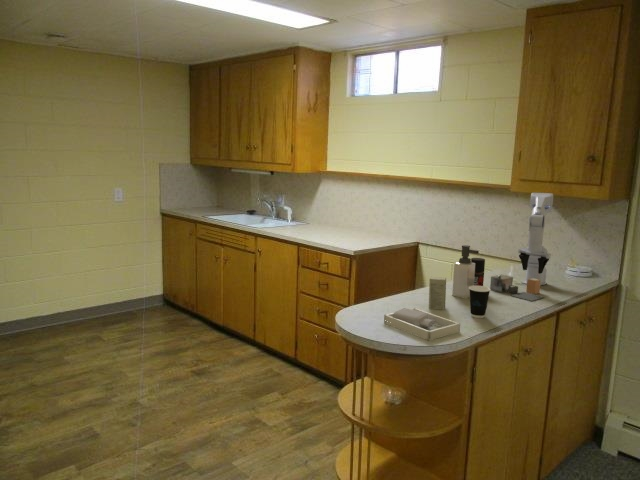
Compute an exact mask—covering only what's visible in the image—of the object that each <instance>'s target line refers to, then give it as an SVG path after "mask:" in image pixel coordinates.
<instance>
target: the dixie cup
mask: <svg viewBox="0 0 640 480" xmlns="http://www.w3.org/2000/svg"><path fill="white" fill-rule="evenodd" d="M469 289H470V297H469V306H470V307H469V308H470V309H469V310H470V316H471V317H472V318H475V319H484V318H485V315H486V312H487V306H488V304H489V303H488V302H489V298H490V292H491V291H492V290H491V289H490V287H488V286H484V285H483V286H470V287H469Z"/></svg>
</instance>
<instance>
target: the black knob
mask: <svg viewBox="0 0 640 480" xmlns="http://www.w3.org/2000/svg"><path fill="white" fill-rule="evenodd" d="M507 292H508V294H511V295H514V294H518V293H519V286H518V285H513V284H512V285H509V289H508V291H507Z"/></svg>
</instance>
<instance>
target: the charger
mask: <svg viewBox="0 0 640 480" xmlns="http://www.w3.org/2000/svg"><path fill="white" fill-rule="evenodd" d="M411 309H412V308H407V307H404V308H400V309H398V310H396V311H395V312H393V313H394V314H393V317H394V318H396V319H399V320H402V321H404V322H407V323H410V324H412V325H415V326H418V327H420V328H424V327H426V328H429V329H430V328H432V327H433V326H434V327H436V326H437V325H438V324H437V323H435V321H434V320H431V319H428V314H427V313H425V312H426V311H425V312H420V311H416V310H411ZM438 326H439V325H438Z"/></svg>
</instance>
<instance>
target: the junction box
mask: <svg viewBox="0 0 640 480" xmlns="http://www.w3.org/2000/svg"><path fill="white" fill-rule="evenodd" d="M513 280H514V277H513V276H509V275H506V274H498V275H492V276H490V282H489V283H490V286H489V288H490V289H491V290H490V291H494V292H498V293H501V294H502V293H506V292H508V289H509V285H513V284H514V283H513V282H514V281H513Z"/></svg>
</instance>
